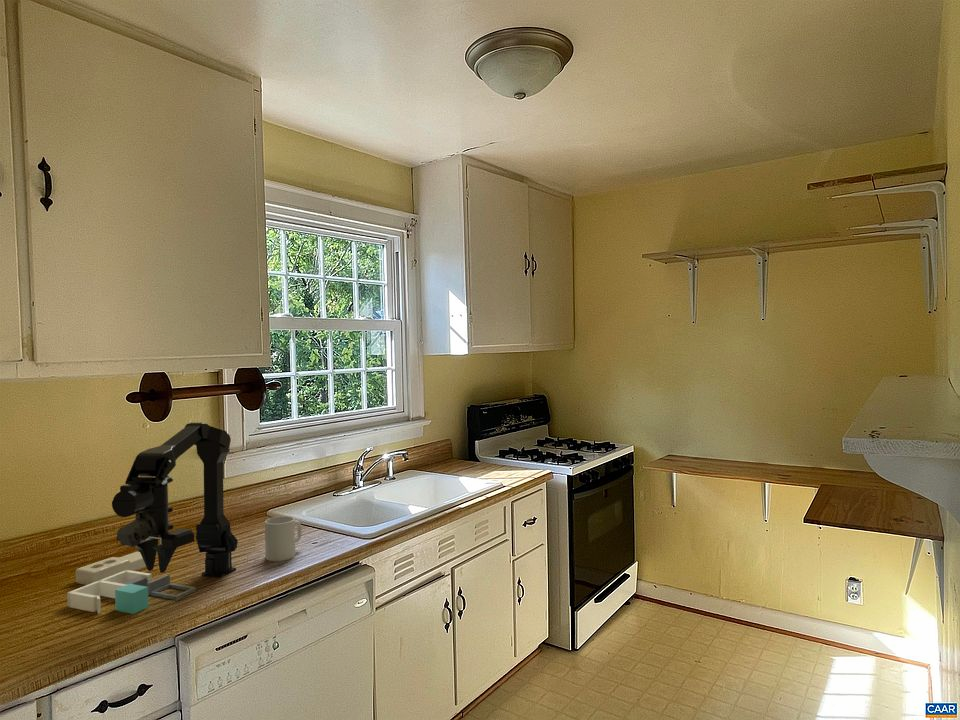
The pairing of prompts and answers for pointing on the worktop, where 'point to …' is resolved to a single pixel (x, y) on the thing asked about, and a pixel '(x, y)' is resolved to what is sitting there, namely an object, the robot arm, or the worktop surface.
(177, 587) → the grey rectangular frame stand
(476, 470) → the worktop surface
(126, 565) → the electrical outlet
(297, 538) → the mug
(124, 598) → the plug
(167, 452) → the robot arm
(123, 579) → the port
